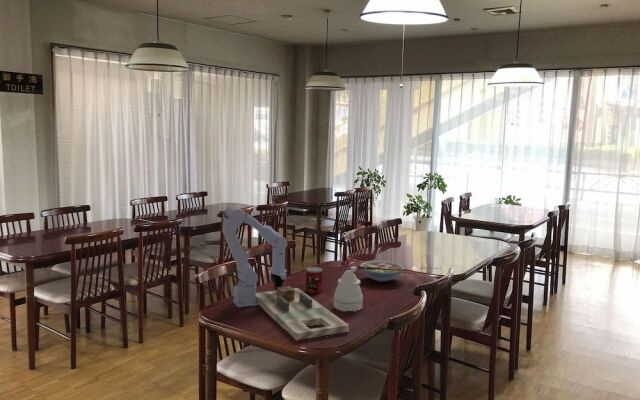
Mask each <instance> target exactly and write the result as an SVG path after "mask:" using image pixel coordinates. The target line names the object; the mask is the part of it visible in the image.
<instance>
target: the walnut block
mask: <svg viewBox="0 0 640 400" xmlns="http://www.w3.org/2000/svg"><path fill="white" fill-rule="evenodd" d="M277 296H282V297H283V298H284V299H285V300H287V301H289V300H295V290H294V289H293V287H292V286H290V285H287V286H282V287H277Z"/></svg>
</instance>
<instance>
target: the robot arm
mask: <svg viewBox="0 0 640 400" xmlns="http://www.w3.org/2000/svg"><path fill="white" fill-rule="evenodd" d="M224 210H225V211H224V212H223V214H222V229H221V230H222V233H223V236H224V239H225V241H226V243H227V245H228V246H227V247H228V249H229V251H230V253H231V255H232V257H233V260H234V261H235V264H236V271H237V273H236V274H237V278H238V279H239V283H238V284H236V285H234V287H233V300H232V301H233V302H232V303H234V305H236V307H237V308H243V307H251V306H253V307H254V306H259V304H258V303H257V302H256V293H257V292H256V291H257V285H256V284H257V283H258V280H259V275H258V273H256V272H255V270H254V269H253V267H252V266H251V264H250V263H249V261H248V258H247V256H246V253H245V251H244V249H243V246H242V244H241V242H240V240H239V237H238V234H237V230H238V228H239V227H240V226H241V225H242V224H248V225H250V227H252V228H253V229H255V230H256V231H258V234H259V236H260V237H261V238H262V239H263V240H265V241H266V242H267V243H269V244H270V246H272V249H271V250H272V252H271V253H272V255H271V258H272V259H271V260H272V263H271V264H272V265H271V267H270V272H271V275H270V277H271V279H272V282H273V286H274V291H277V287H283V283H284V281H285V280H287V274H286V273H288V270H287V269H286V268H285V267H286V248H287V247H288V244H289V243H288V242H287V239H286V238H285V237H284V236H281V233H280V232H277V231H276V230H274V229H273V227H272V226H271V225H263V224H262V223H261V222H260V221H259V220H257V219H256V218H255V217H253V216H252V214H249V213H248V212H246V211H244V210H243V209H239V208H238V207H236V206H228V207H226V209H224Z"/></svg>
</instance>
